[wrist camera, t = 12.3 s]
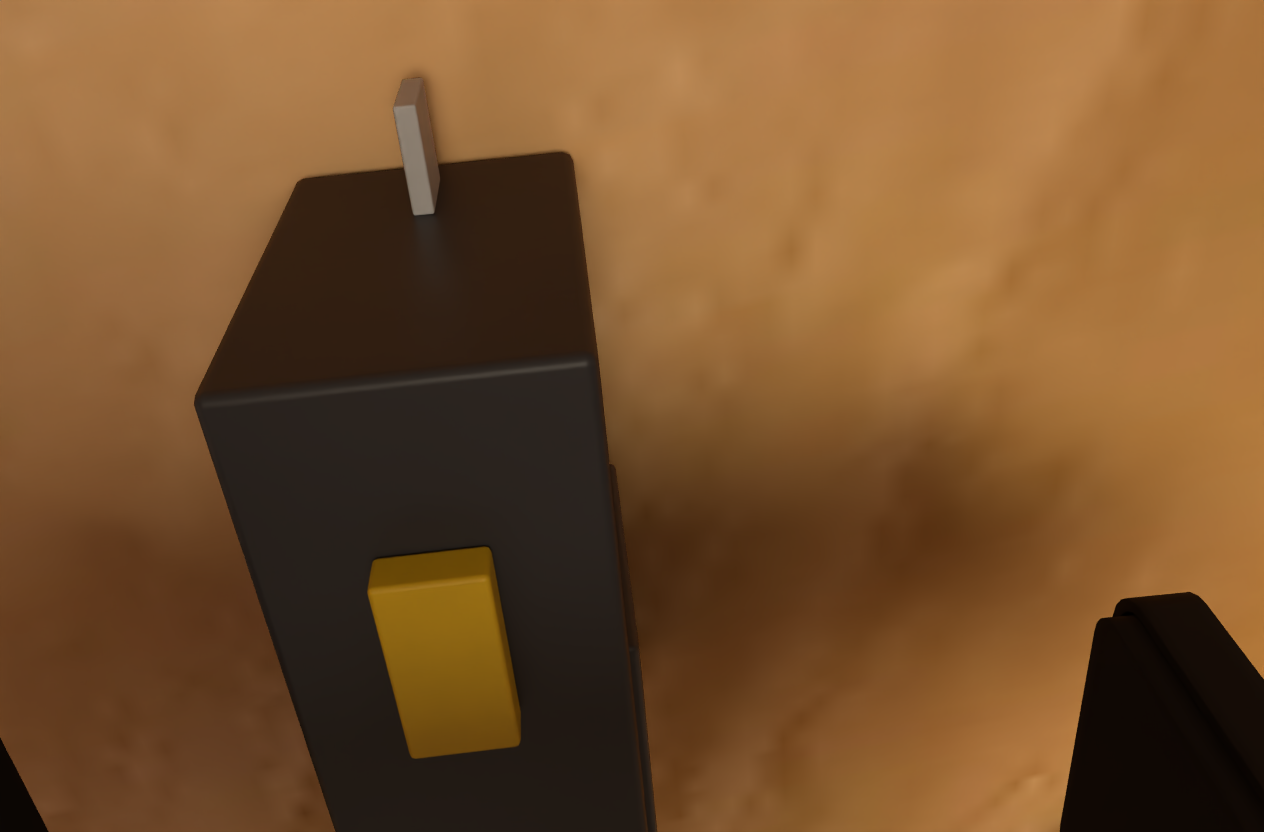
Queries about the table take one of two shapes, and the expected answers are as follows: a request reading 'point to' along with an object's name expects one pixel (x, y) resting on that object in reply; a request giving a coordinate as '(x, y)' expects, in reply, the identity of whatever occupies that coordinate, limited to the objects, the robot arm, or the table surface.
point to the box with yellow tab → (437, 497)
